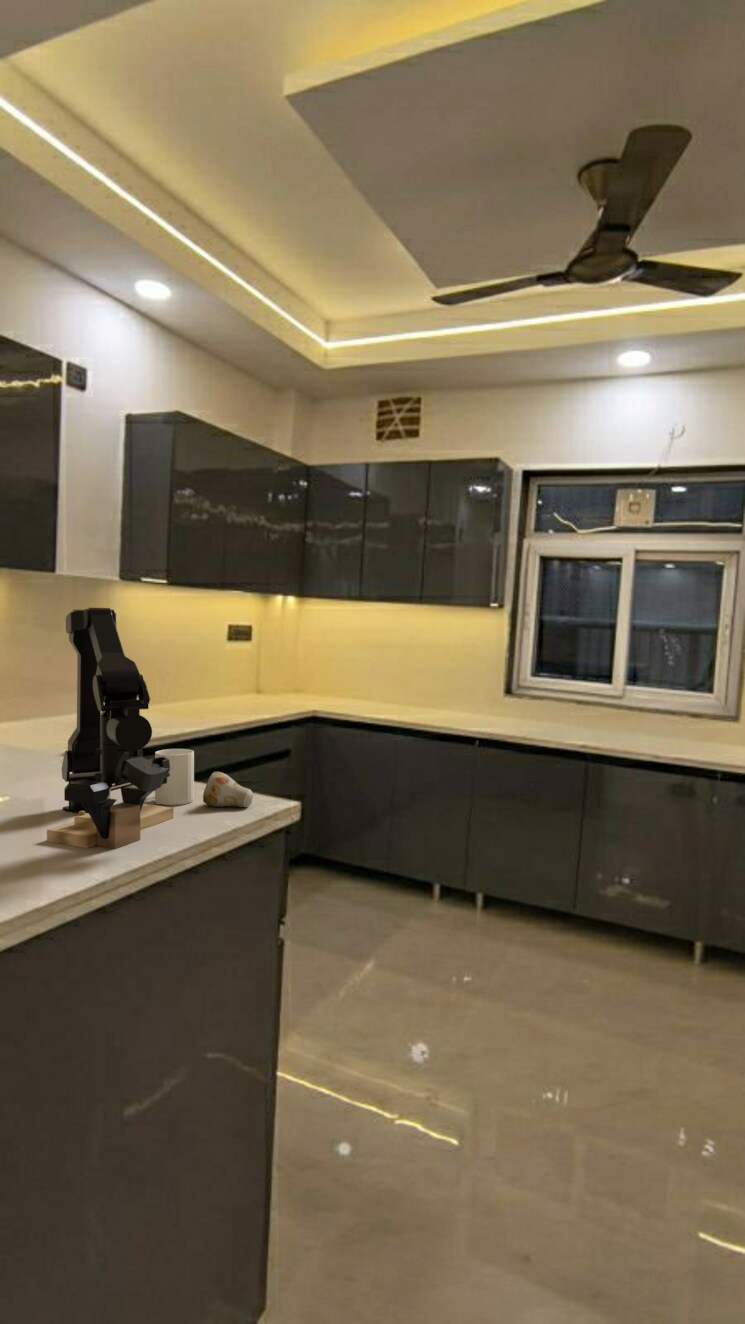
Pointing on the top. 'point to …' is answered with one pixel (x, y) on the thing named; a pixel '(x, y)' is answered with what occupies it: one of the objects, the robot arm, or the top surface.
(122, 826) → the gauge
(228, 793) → the patterned white vase
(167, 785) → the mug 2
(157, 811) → the board
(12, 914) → the top surface
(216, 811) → the top surface
